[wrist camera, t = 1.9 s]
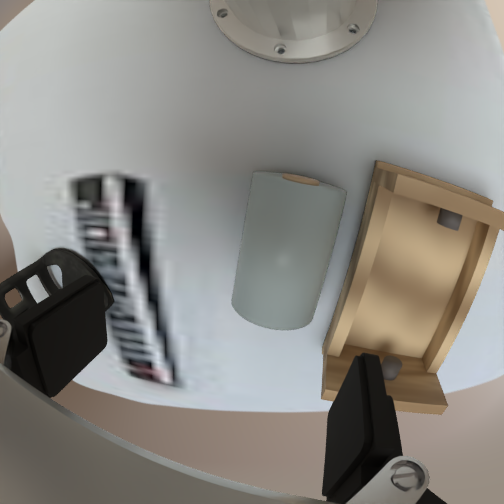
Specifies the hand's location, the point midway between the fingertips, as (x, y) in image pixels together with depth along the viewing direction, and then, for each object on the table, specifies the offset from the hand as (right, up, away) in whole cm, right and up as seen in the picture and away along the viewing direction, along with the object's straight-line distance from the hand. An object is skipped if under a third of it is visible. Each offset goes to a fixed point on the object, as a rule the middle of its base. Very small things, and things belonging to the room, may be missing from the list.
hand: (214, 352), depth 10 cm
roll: (+3, +5, +13) cm, 14 cm away
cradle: (+14, +1, +12) cm, 18 cm away
